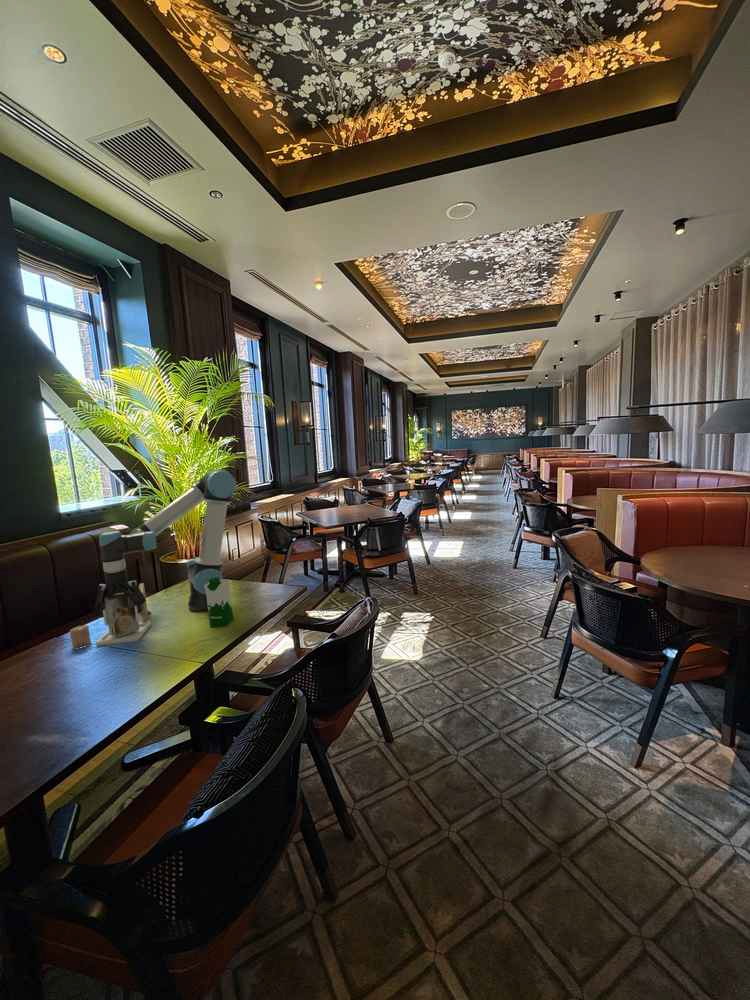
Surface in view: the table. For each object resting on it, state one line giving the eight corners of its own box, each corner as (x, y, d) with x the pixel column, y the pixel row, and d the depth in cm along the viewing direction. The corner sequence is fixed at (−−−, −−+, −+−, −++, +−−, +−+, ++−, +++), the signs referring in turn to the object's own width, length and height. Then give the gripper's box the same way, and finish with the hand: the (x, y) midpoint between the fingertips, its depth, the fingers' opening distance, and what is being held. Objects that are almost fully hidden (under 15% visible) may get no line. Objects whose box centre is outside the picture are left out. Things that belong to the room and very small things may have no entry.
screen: (150, 611, 196) (146, 582, 194) (150, 624, 180) (145, 593, 178) (140, 613, 194) (136, 584, 192) (139, 627, 178) (135, 595, 176)
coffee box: (132, 626, 176) (128, 589, 174) (139, 630, 172) (135, 592, 170) (108, 634, 168) (103, 596, 166) (115, 638, 165) (110, 599, 163)
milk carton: (206, 628, 172) (201, 581, 169) (217, 619, 181) (211, 574, 178) (227, 627, 171) (221, 580, 168) (236, 618, 180) (231, 573, 177)
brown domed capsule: (94, 641, 167) (91, 624, 166) (86, 648, 161) (83, 630, 160) (77, 643, 166) (74, 626, 165) (69, 650, 160) (66, 632, 159)
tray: (151, 625, 179) (150, 621, 179) (137, 641, 164) (137, 636, 164) (113, 630, 177) (112, 626, 176) (96, 646, 162) (95, 642, 162)
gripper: (150, 564, 172) (157, 615, 175) (87, 571, 169) (96, 622, 171) (143, 569, 165) (151, 622, 168) (78, 576, 161) (87, 630, 164)
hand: (123, 622), depth 170 cm, fingers open, 11 cm apart
